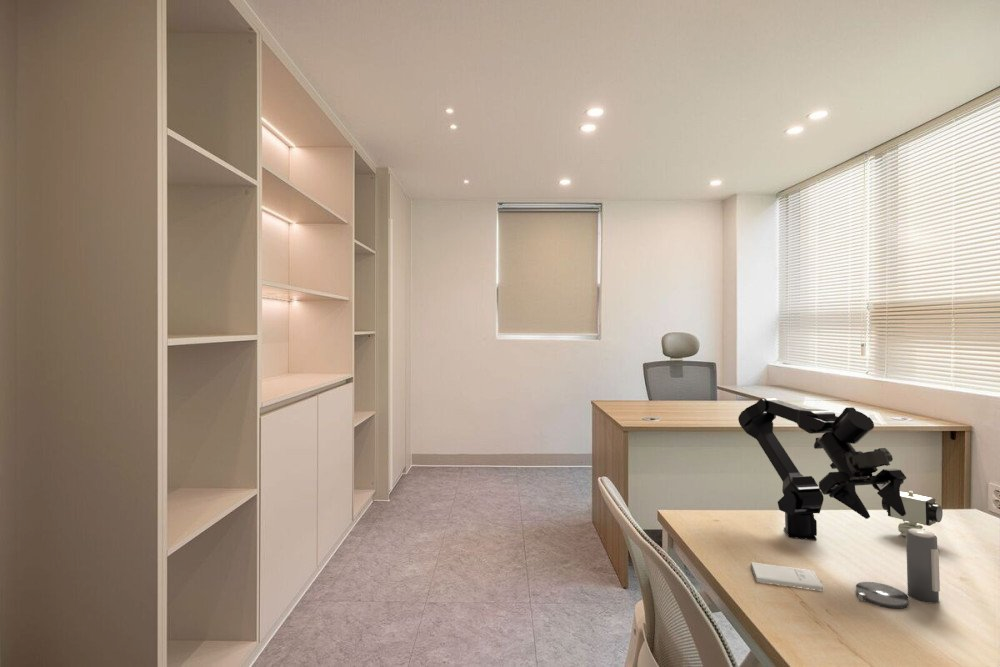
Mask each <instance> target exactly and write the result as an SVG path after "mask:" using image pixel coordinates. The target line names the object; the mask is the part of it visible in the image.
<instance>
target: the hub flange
mask: <svg viewBox="0 0 1000 667" xmlns="http://www.w3.org/2000/svg"><path fill="white" fill-rule="evenodd" d="M855 592H856V595H857V598H858V600H859V601H861V602H868V603H870V604H873V605H876V606H879V607H882V608H887V609H895V610H896V609H897V610H899V609H907V608H908V607H909V605H910V603H909V599H910V598H909V595H908V594H906V592H904V591H902V590H900V589H898V588H896V587H893V586H892V585H888V584H885V583H881V582H874V581H860V582H858V583H856V585H855Z"/></svg>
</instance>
